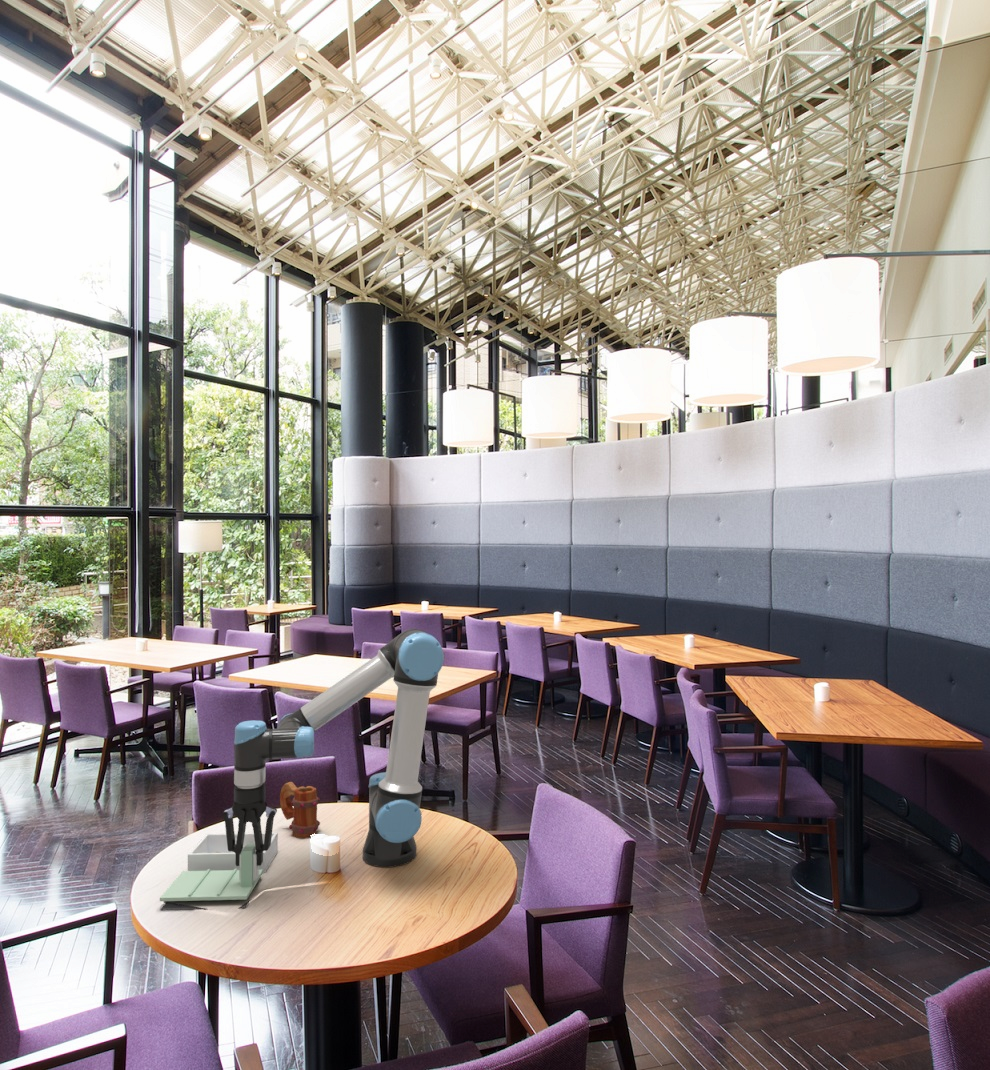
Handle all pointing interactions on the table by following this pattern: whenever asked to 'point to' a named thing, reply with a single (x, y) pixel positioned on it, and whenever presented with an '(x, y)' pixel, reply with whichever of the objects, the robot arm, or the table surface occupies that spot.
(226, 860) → the tub
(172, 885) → the lid
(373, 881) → the table surface
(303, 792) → the mug
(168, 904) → the mat
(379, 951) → the table surface
